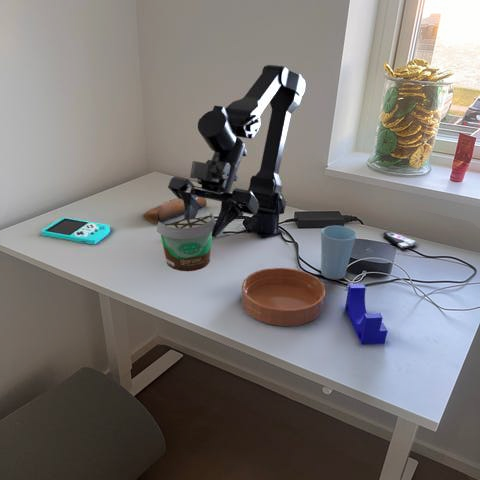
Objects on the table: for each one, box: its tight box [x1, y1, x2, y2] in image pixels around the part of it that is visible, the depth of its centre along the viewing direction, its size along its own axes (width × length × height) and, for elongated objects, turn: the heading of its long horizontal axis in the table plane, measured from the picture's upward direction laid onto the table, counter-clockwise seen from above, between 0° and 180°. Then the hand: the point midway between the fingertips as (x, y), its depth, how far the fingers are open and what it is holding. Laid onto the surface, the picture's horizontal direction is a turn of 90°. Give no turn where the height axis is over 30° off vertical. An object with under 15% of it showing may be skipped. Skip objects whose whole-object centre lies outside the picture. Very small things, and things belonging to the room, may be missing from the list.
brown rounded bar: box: [142, 197, 208, 225], centre depth 142 cm, size 18×7×7 cm, turn 138°
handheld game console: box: [40, 217, 111, 245], centre depth 131 cm, size 10×16×1 cm, turn 71°
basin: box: [241, 267, 326, 327], centre depth 103 cm, size 17×17×4 cm
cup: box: [320, 225, 358, 280], centre depth 112 cm, size 8×8×10 cm
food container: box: [156, 211, 216, 272], centre depth 101 cm, size 12×6×10 cm, turn 115°
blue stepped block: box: [344, 283, 389, 345], centre depth 96 cm, size 12×4×6 cm, turn 5°
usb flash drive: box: [383, 230, 417, 249], centre depth 130 cm, size 9×5×1 cm, turn 18°
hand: (199, 233), depth 101 cm, fingers closed on food container, 6 cm apart
